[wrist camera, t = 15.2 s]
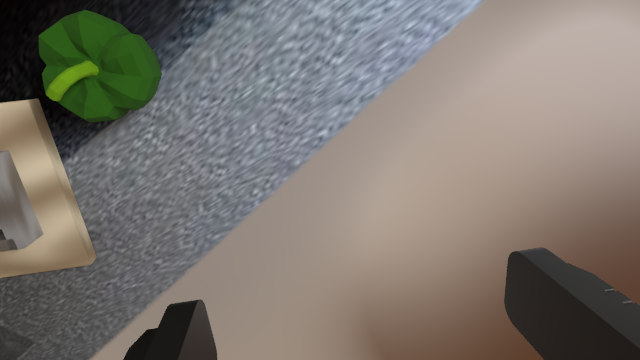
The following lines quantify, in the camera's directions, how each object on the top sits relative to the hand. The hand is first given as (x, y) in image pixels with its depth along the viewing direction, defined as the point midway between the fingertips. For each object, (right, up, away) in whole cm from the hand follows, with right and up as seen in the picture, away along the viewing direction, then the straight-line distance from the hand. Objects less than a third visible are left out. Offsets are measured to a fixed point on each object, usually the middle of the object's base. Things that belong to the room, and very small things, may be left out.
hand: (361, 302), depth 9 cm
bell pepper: (-20, +14, +25) cm, 35 cm away
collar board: (-35, +2, +27) cm, 45 cm away
